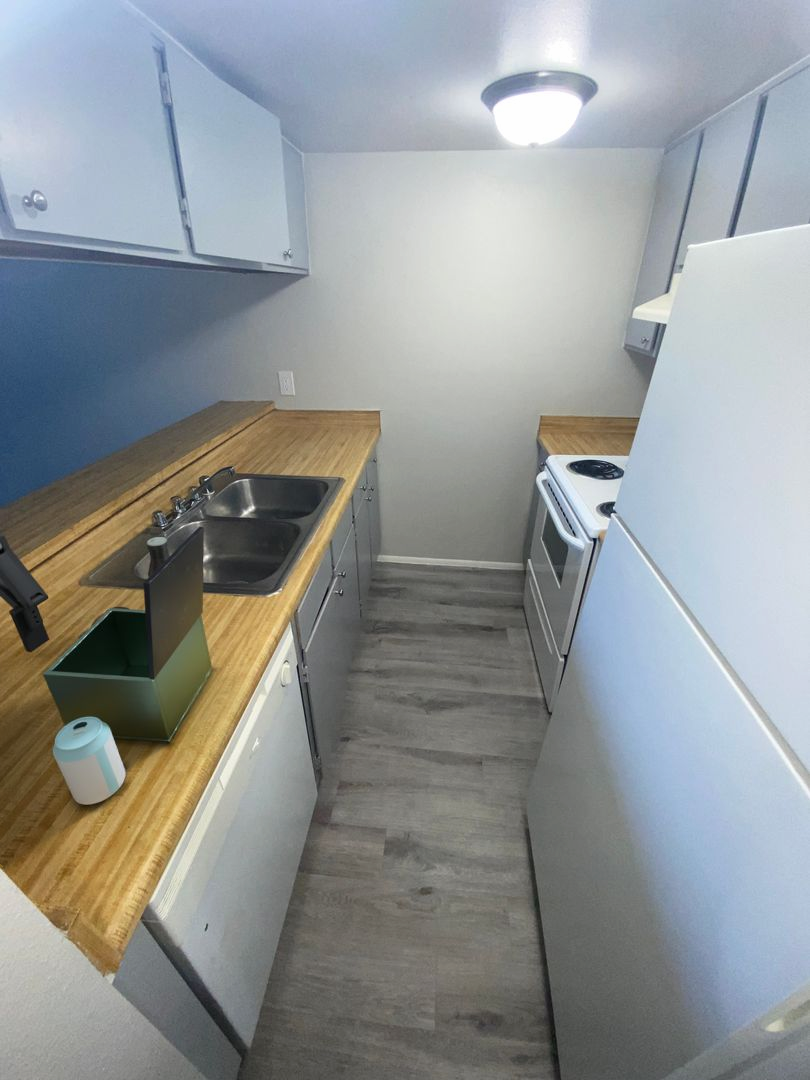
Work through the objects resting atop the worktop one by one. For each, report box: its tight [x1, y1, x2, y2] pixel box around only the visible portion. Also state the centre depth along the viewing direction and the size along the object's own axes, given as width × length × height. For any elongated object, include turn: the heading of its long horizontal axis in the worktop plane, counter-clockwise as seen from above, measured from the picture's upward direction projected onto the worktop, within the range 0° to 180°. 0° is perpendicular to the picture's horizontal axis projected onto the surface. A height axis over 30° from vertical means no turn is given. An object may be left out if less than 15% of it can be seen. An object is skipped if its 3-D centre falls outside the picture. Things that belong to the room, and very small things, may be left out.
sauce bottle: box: [146, 536, 171, 578], centre depth 107 cm, size 6×6×20 cm
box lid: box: [143, 526, 205, 680], centre depth 77 cm, size 18×18×1 cm
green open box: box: [42, 607, 214, 745], centre depth 85 cm, size 18×18×14 cm
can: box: [52, 717, 127, 805], centre depth 70 cm, size 7×7×12 cm
